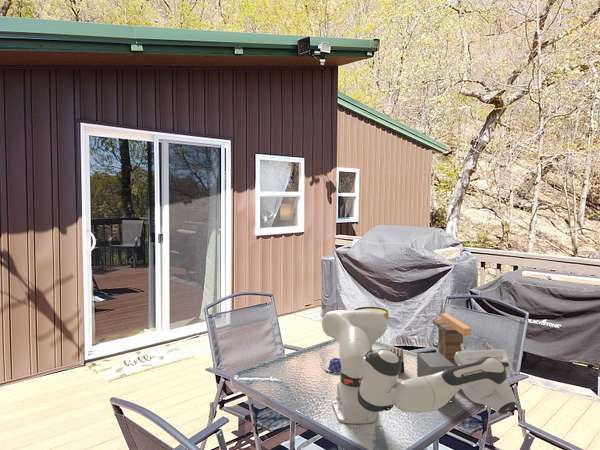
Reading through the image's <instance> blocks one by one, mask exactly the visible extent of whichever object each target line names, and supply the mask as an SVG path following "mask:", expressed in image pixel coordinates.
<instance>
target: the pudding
mask: <svg viewBox="0 0 600 450" xmlns="http://www.w3.org/2000/svg"><path fill="white" fill-rule="evenodd" d="M328 365H329V370H330V371H329V372H336V373H333V374H334V375H335V374H339V375H340V373H339V372H340V370H341V363H340V357H333V358H331V359H330V360H329V364H328Z"/></svg>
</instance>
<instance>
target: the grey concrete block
mask: <svg viewBox="0 0 600 450" xmlns="http://www.w3.org/2000/svg"><path fill="white" fill-rule="evenodd" d="M416 357H417V358H416V363H417V364H416V367H417V370H416V371H417V372H416V373H417V374H416V375H417V376H416V377H422V376H427V375H432V374H435V373H438V372H441V371H444V370H447V369H450V368H453V367H455V366H454V365H453V364H452V363H451V362H450V361H449V360H447V359H446V358H445V357H444V356H443V355H442V354H441V353H439V352H423V353H417V354H416ZM449 401H456V394H455V395H454V396H453V397H452V398H451V399H450V400H449Z"/></svg>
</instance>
